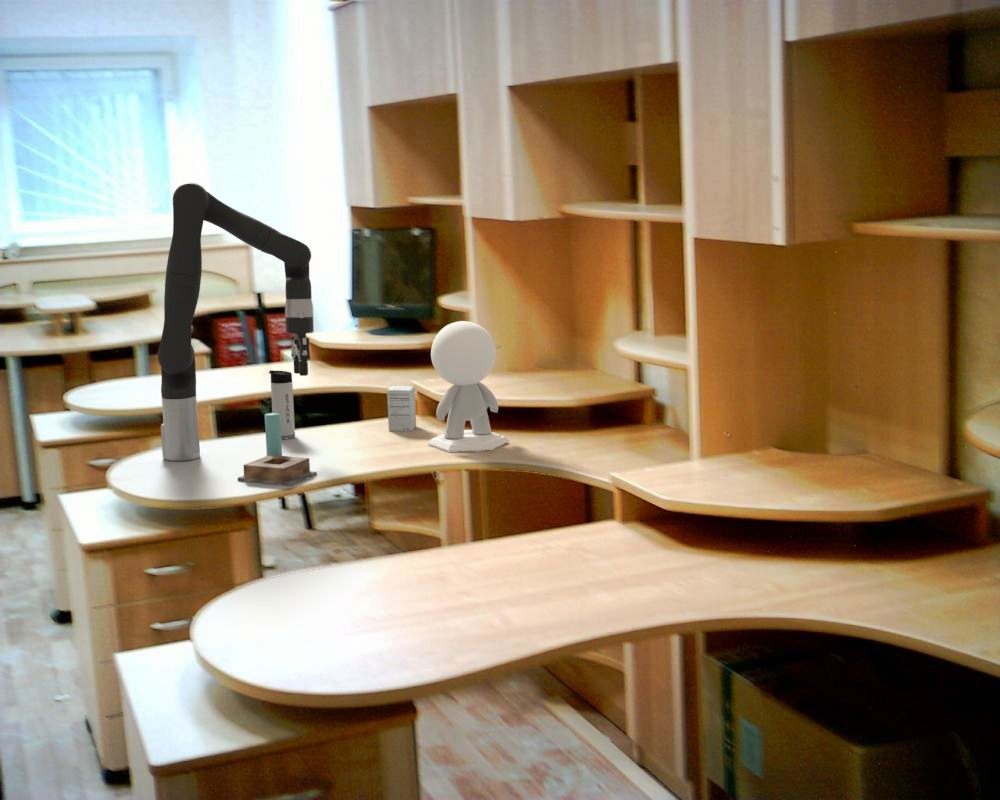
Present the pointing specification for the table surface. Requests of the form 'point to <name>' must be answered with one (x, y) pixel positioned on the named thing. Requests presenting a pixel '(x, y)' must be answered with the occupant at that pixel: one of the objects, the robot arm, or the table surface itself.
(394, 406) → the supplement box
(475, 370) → the white toy figurine
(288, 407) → the travel mug
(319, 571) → the table surface
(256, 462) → the socket
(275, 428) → the peg
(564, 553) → the table surface
